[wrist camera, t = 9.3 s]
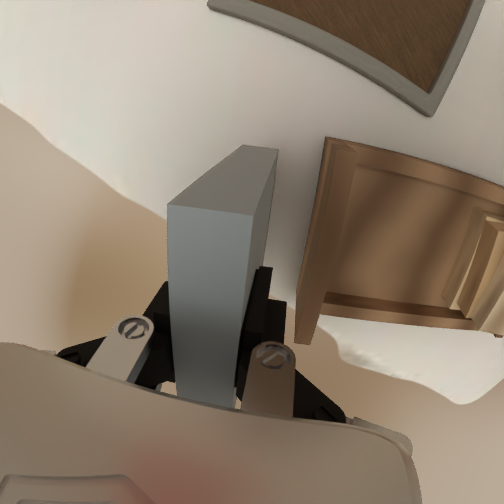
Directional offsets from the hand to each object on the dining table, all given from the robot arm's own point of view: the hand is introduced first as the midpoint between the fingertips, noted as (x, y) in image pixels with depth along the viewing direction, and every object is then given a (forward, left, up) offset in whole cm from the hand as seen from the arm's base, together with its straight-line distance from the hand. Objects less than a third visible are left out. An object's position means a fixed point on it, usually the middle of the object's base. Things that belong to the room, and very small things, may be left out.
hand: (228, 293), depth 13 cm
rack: (-16, +1, -14) cm, 21 cm away
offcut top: (-22, +2, -8) cm, 23 cm away
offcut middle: (-21, +1, -10) cm, 24 cm away
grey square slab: (0, 0, -7) cm, 7 cm away
